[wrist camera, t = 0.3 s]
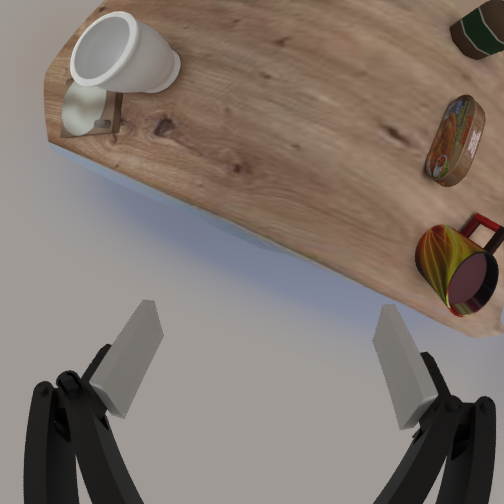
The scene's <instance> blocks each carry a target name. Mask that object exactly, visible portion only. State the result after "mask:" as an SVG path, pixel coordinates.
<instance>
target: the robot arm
mask: <svg viewBox="0 0 504 504" xmlns="http://www.w3.org/2000/svg"><path fill="white" fill-rule="evenodd" d="M163 336H164V334H163V331H162V328H161V324H160V320H159V317H158V313H157V309H156V306H155V302H154V301H151V300H143V301H142V302H141V304H140V305H139V306H138V308H137V309H136V311H135V312H134V313H133V315H132V316H131V318H130V319H129V321H128V322H127V324H126V325H125V327H124V328H123V330H122V331H121V333H120V334H119V335H118V337H117V339H116V340H115V342H114V343H113V345H110V344H106V345H105V346H104V347H102V348H101V349H100V350H99V352H98V353H97V355H96V357H95V358H94V359H93V361H92V363H91V364H90V365H89V367H88V368H87V370H86V371H85V373H84V374H83V376H82V378H81V379H80V377H79V376H78V374H77V373H76V372H74V371H71V370H70V371H65V372H63V373H61V374H60V375H59V376H58V378H57V380H56V385H57V386H58V388H54V387H53V386H52V384H51V383H50V382H48V381H43V382H40V383H39V384H37V385H36V387H35V388H34V391H33V396H32V401H31V407H30V412H29V419H28V425H27V433H26V442H25V454H24V504H79V497H78V488H77V475H76V457H77V460H78V464H79V467H80V470H81V473H82V477H83V480H84V483H85V485H86V488H87V491H88V494H89V496H90V499H91V501H92V504H144V503H143V501H142V499H141V497H140V495H139V493H138V491H137V489H136V487H135V485H134V483H133V481H132V479H131V477H130V475H129V473H128V471H127V468H126V466H125V464H124V461H123V459H122V457H121V454H120V452H119V449H118V447H117V444H116V441H115V439H114V436H113V433H112V430H111V428H110V425H109V422H108V419H107V416H106V415H105V413H106V410H107V409H108V411H109V412H110V413H111V415H113V416H116V417H119V418H123V419H125V416H126V414H127V412H128V410H129V407H130V405H131V403H132V401H133V399H134V397H135V394H136V392H137V390H138V388H139V386H140V384H141V382H142V380H143V378H144V375H145V373H146V371H147V369H148V367H149V365H150V363H151V361H152V359H153V357H154V355H155V353H156V350H157V349H158V347H159V344H160V343H161V340H162V339H163ZM372 341H373V344H374V347H375V349H376V352H377V355H378V358H379V361H380V364H381V367H382V370H383V373H384V376H385V379H386V383H387V386H388V389H389V392H390V396H391V399H392V402H393V406H394V409H395V413H396V417H397V421H398V424H399V428H400V430H404V429H409V428H413V427H414V426H415V425H416V424H417V423H418V421H419V424H420V428H419V429H418V431H417V432H416V433H415V434H414V435H413V436H412V438H414V439H413V441H412V443H411V445H410V447H409V448H408V450H407V452H406V454H405V456H404V457H403V459H402V461H401V462H400V464H399V466H398V467H397V469H396V471H395V472H394V474H393V475H392V477H391V479H390V480H389V482H388V483H387V485H386V486H385V487H384V489H383V490H382V492H381V493H380V495H379V496H378V497H377V499H376V500H375V501H374V503H373V504H423V502H424V500H425V499H426V497H427V495H428V493H429V491H430V490H431V488H432V486H433V484H434V482H435V480H436V478H437V476H438V474H439V472H440V470H441V467H442V465H443V463H444V461H445V458H446V456H447V459H446V464H445V469H444V473H443V478H442V482H441V486H440V490H439V494H438V498H437V501H436V504H488V502H489V497H490V492H491V485H492V479H493V471H494V461H495V447H496V408H495V403H494V402H493V400H492V399H491V398H489V397H487V396H483V397H480V398H479V399H478V400H477V401H476V402H475V403H463V402H461V400H460V399H459V398H458V397H456V396H453V395H451V394H450V392H449V389H448V387H447V385H446V383H445V381H444V378H443V376H442V374H441V373H440V370H439V368H438V367H437V364H436V362H435V360H434V358H433V357H432V356H431V355H430V354H429V353H428V352H422V353H420V352H419V351H418V348H417V346H416V344H415V342H414V340H413V339H412V336H411V334H410V332H409V331H408V329H407V327H406V325H405V323H404V321H403V319H402V317H401V315H400V314H399V312H398V310H397V308H396V306H395V305H394V304H392V305H383V307H382V310H381V314H380V318H379V321H378V324H377V327H376V331H375V334H374V337H373V340H372ZM75 456H76V457H75Z"/></svg>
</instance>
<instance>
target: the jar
mask: <svg viewBox="0 0 504 504" xmlns="http://www.w3.org/2000/svg"><path fill="white" fill-rule="evenodd" d="M180 67H181V61H180V58H179V55H178V54H177V53H176V52H175V51H174V50H172V49H171V47H170V46H169V44H168V43H167V42H166V41H165V39H164V38H163V37H162V36H161V35H160V33H158V32H157V31H156V30H155V29H153V28H152V27H150V26H149V25H147V24H144V23H142V22H139V21H137V19H136V18H135V17H134V16H132V15H131V14H128V13H126V12H112V13H109V14H106V15H104V16H102V17H101V18H99V19H97V20H96V21H95V22H93V23H92V24H91V25H90V26H89V27H88V28H87V29H86V30H85V31H84V33H83V34H82V35H81V37H80V38H79V40H78V42H77V43H76V45H75V48H74V50H73V53H72V57H71V63H70V69H71V74H72V77H73V79H74V80H75V82H77V83H78V84H79V85H82V86H87V87H94V86H97V87H100V88H102V89H105V90H109V91H113V92H123V93H127V92H146V93H157V92H160V91H162V90H164V89H166V88H167V87H169V86H170V85H171V84H172V83H173V82H174V81H175V79H176V78H177V76H178V74H179V71H180Z"/></svg>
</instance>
